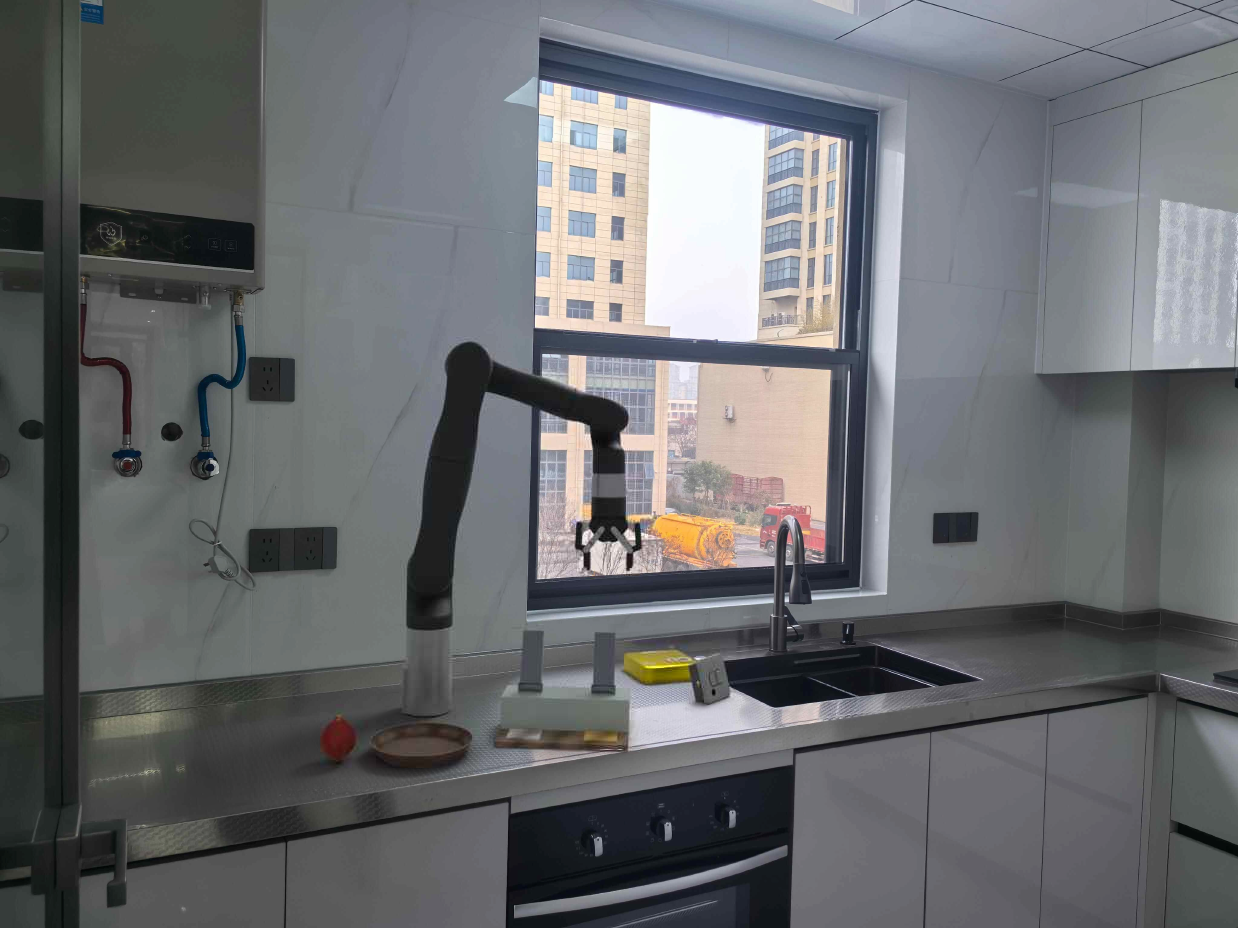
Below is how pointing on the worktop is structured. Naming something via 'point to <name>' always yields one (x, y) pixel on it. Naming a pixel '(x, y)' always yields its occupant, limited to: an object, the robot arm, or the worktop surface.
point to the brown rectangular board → (561, 739)
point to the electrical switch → (709, 679)
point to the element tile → (658, 666)
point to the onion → (338, 739)
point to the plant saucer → (421, 744)
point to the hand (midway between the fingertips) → (608, 570)
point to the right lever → (604, 663)
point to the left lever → (532, 661)
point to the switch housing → (565, 709)
